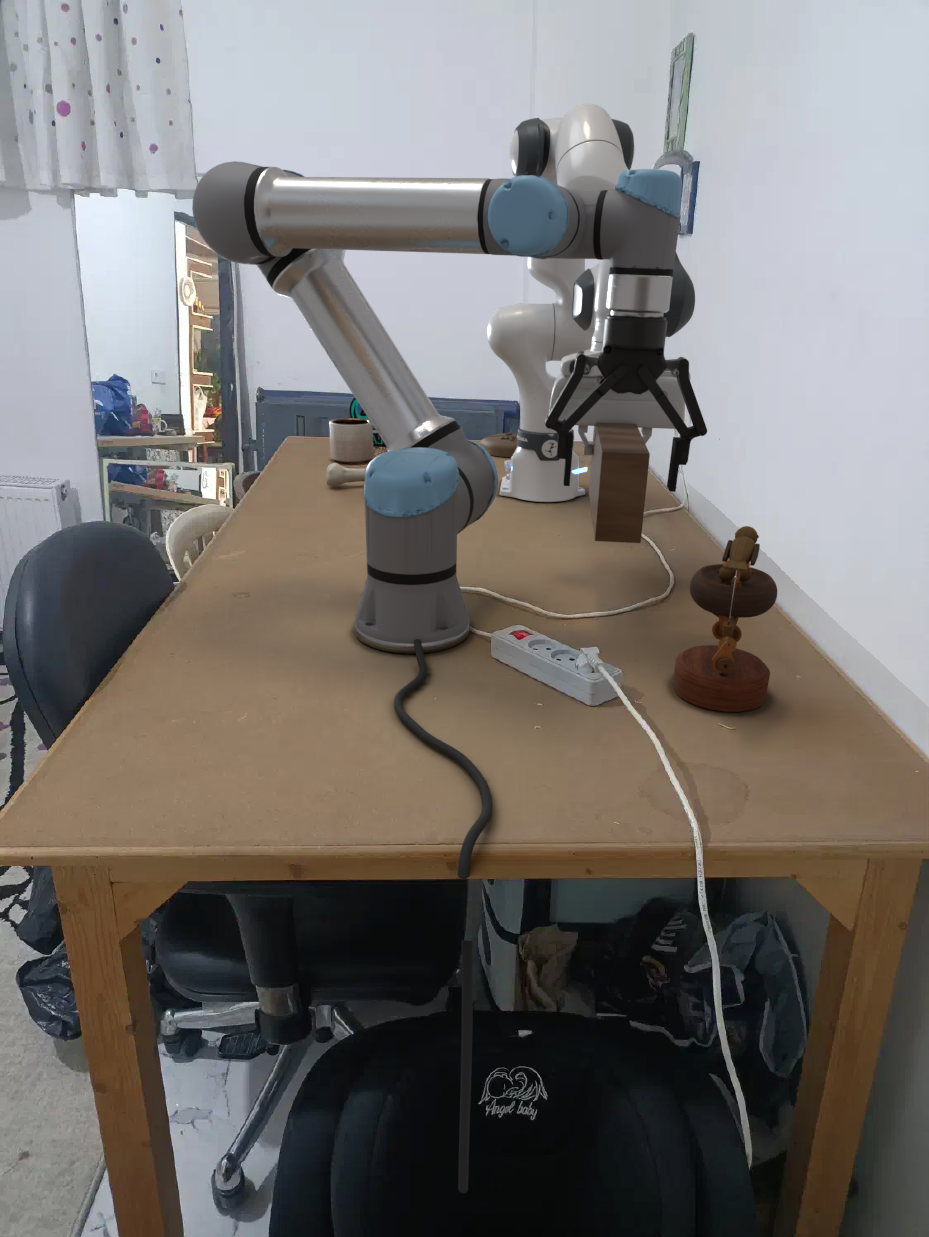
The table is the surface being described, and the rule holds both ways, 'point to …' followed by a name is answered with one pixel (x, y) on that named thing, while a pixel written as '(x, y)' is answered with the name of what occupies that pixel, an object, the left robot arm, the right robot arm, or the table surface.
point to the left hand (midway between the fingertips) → (618, 486)
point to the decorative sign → (358, 412)
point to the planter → (351, 440)
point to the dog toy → (343, 475)
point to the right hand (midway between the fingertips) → (612, 455)
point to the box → (618, 482)
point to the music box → (728, 631)
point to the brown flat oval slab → (500, 444)
